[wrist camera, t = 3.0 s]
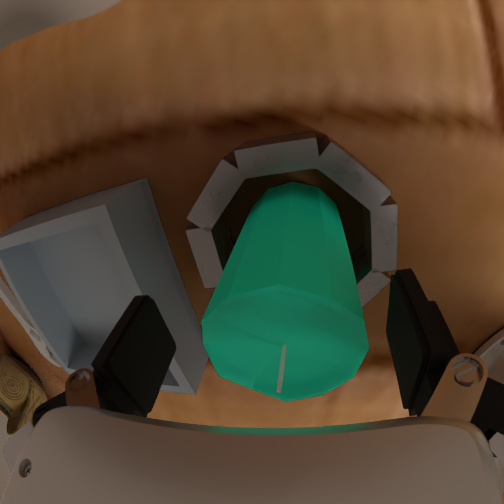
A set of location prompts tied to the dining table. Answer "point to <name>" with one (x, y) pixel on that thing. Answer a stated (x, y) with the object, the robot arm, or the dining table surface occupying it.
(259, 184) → the dining table surface
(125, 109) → the dining table surface
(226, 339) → the candle
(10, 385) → the ceramic bowl
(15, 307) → the adjustable wrench
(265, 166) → the collar
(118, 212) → the bin
